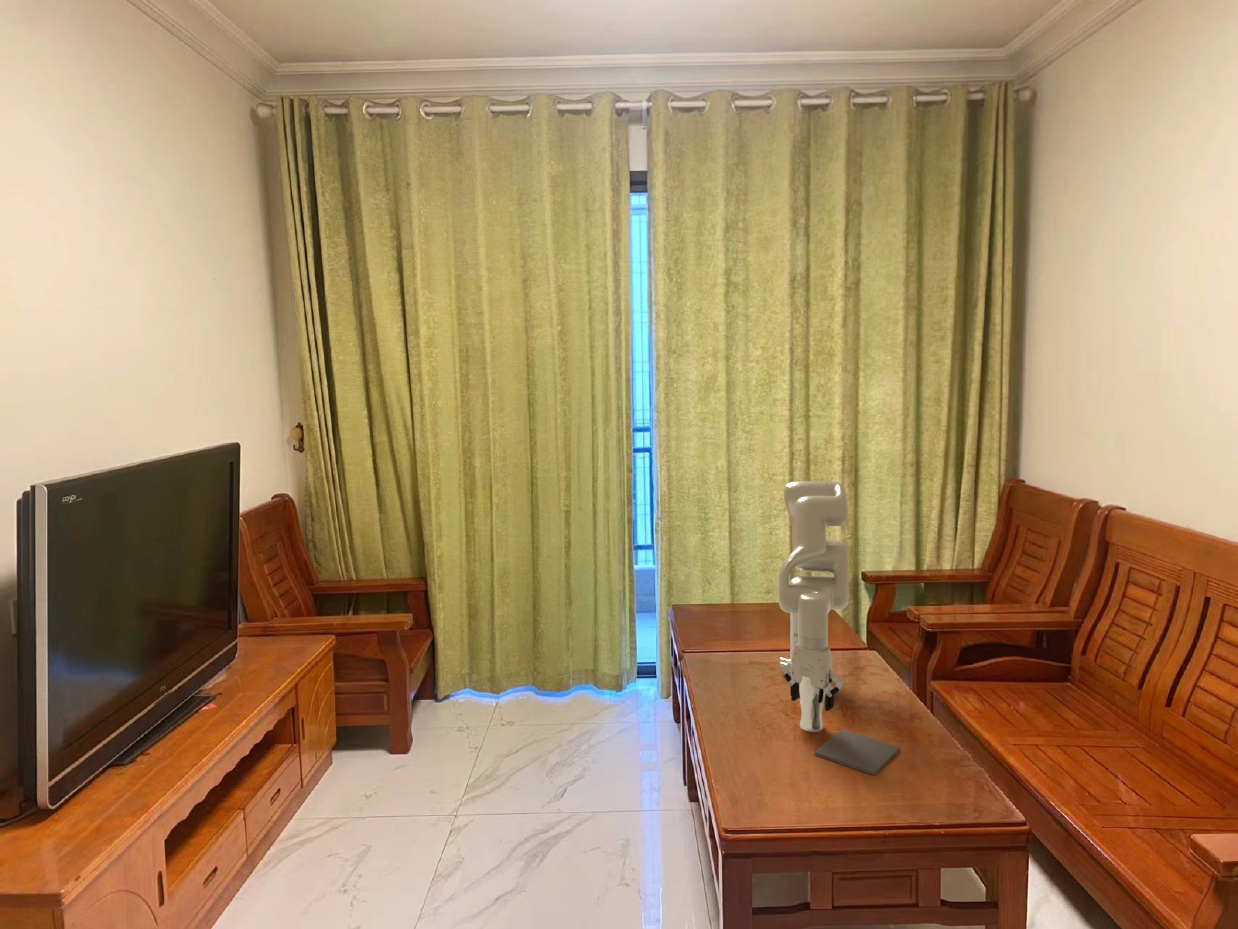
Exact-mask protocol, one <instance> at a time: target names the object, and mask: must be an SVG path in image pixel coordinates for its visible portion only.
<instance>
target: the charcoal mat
mask: <svg viewBox="0 0 1238 929" xmlns="http://www.w3.org/2000/svg"><path fill="white" fill-rule="evenodd" d="M898 752H900V746H896V745H894V744H890V743H888V742H885V741H882V740H878V739H876V738H872V737H868V736H866V735H862V734H859V733H856V732H853V731H850V730H847V729H840V730H839V731H838V732H837V733H836V734H835V735H833V736H832V737H831V738H830V739H829V740H827V741H826V742H825V743H824V744H823V745H822V746H820V747H819V748H817V749H816V751H815V750H814V755H815V756H817V757H819V758H820V757H821V758H823V759H826V760H829V761H831V762H834V763H837V764H840V765H843V766H846V767H849V768H851V769H854V770H857V771H860V772H863V773H866V774H868V775H872V776H875V775H876V774H877V773H878V772H879V771H880V770H881V769H882V768H883V767H884V766H885V765H887V764H888V762H889V761H891V759H892V758H893V757H895V755H896V754H898Z"/></svg>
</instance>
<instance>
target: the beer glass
mask: <svg viewBox="0 0 1238 929" xmlns="http://www.w3.org/2000/svg"><path fill="white" fill-rule="evenodd" d="M798 692H799V698H798V700H799V705H800V710H801V713H800V714H801V716H800V722H799V727H800V729H801V730H803V731H805V732H807V733H819V732H821V731H823V730H824V721H823V710H824V707H825V696H826V695H827V694H826V692H825V691H824V689H818V688H814V687H812V686H811V680H810V677H806V676H803V678H802V682H801V683H799V684H798Z"/></svg>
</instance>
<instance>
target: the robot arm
mask: <svg viewBox="0 0 1238 929" xmlns="http://www.w3.org/2000/svg"><path fill="white" fill-rule="evenodd" d="M783 500H784V504H785V508H786V510H787V514H788V515H789V518H790V521H791V527H792V533H791V534H792V539H791V540H792V541H791V542H792V552H791V553H789V555H787V557H786V558H785V559H784V561H783V563H782V564H781V567H780V568H779V573H778V590H777V591H778V594H777V595H778V604H779V607H780V609H781V610H782V611H783V612H784V613H789V618H790V619H789V620H790V628H789V629H790V633H789V634H790V635H789V636H790V637H789V638H790V639H789V640H790V641H789V642H790V643H789V644H790V647H789V650H790V652H789V653H790V655H789V656H790V657H789V659H788V658H785V657H780V658H779V665H778V666H779V667H781V670H782V672H783V674H784V678H785V679H786V681H787V683H788V686H790V690H789V692H790V696H791V697H790V699H791V700H790V701H792V702H795V701H797V700H799V692H798V684H799V683H801V682H802V678H803V676H806V677H810V680H811V686H812V687H814V688H818V689H824V691H825V692H826V694H825V701H824V711H825V712H829V711H831V710H832V709H833V708H834V706H835V694H837V693H838V692H840V691H841V689H842V688H843V686H844V685H845V680H843V678H841V677H840V676H838V675H837V674H836V673H835V672H833V671H834V669H833V659H832V652H831V648H830V647H829V646H828V639H829V638H828V636H829V635H828V633H829V627H828V626H829V623H828V622H829V618H828V617H829V613H830V612H831V611H832V610H838V611H839V610H844V609H845V608H847V606H848V604H849V596H850V595H849V593H850V592H849V591H850V590H849V558H848V556H849V555H848V548H847V546H846V544H845V543H844V542H842V541H841V540H836V539H835V540H833V539H830V540H829V539H827V534H826V533H827V532H826V530H827V529H826V527H842V526H845V524H846V523H847V520H848V515H849V509H848V508H849V507H848V501H847V496H846V491H845V487H844V484H842V483H841V482H839V481H823V480H822V481H817V480H815V481H814V480H811V481H810V480H801V481H800V480H799V481H791V482H789V483H787V484H786V485H785V486H784V489H783ZM794 569H796V570H798V571H801V572H810V573H811V572H812V573H830V574H831V575H832V576H819V575H818V576H817V575H816V576H814V575H812V576H811V575H800V576H794V577H793V578H792V579H789V578H790V575H791V572H792V571H793V570H794ZM833 682H834V683H835V686H834V685H833Z"/></svg>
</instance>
